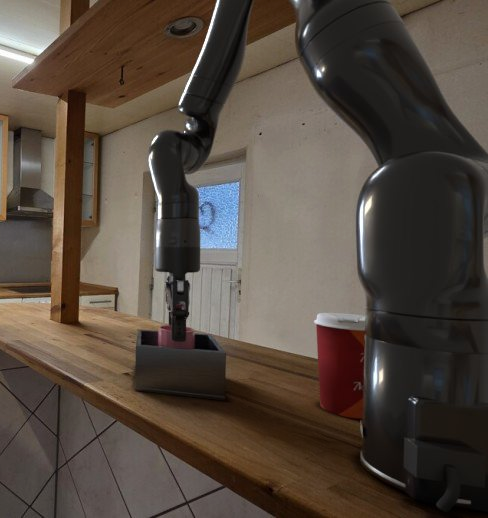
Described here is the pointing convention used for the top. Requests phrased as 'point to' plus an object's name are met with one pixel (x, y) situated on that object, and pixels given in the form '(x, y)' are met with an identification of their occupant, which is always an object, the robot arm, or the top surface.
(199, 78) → the robot arm
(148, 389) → the grey storage bin
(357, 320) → the paper cup
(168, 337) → the pink cup
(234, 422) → the top surface
